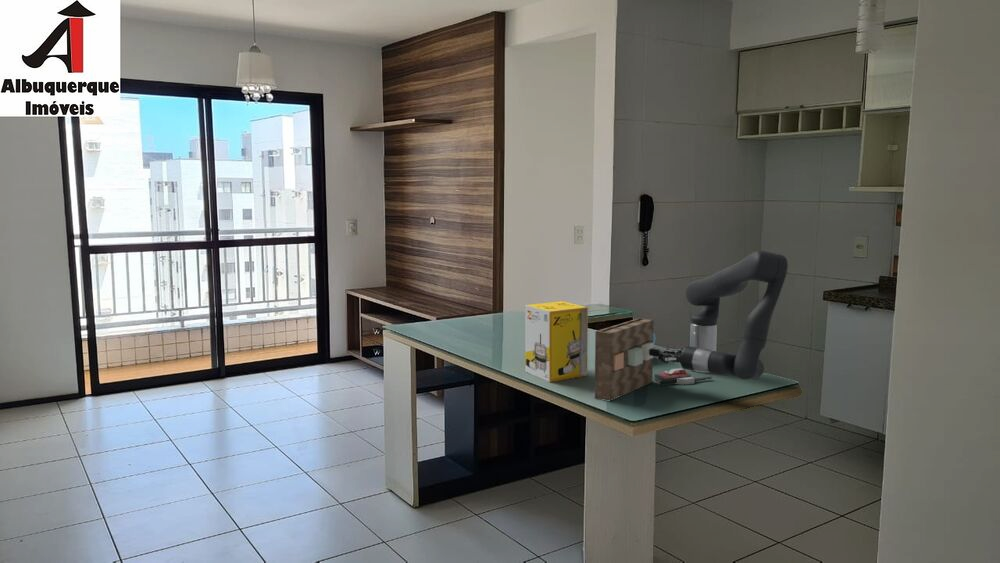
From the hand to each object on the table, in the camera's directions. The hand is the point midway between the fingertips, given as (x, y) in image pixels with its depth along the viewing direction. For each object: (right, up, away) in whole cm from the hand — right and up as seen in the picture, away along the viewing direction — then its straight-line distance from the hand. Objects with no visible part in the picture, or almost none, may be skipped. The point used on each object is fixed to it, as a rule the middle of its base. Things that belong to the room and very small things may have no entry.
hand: (650, 351), depth 240 cm
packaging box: (-31, -10, +18) cm, 37 cm away
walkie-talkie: (+13, -12, +8) cm, 19 cm away
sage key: (-7, -3, -5) cm, 9 cm away
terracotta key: (-14, -4, -11) cm, 19 cm away
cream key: (-2, -2, +2) cm, 3 cm away
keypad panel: (-9, -13, -2) cm, 16 cm away
